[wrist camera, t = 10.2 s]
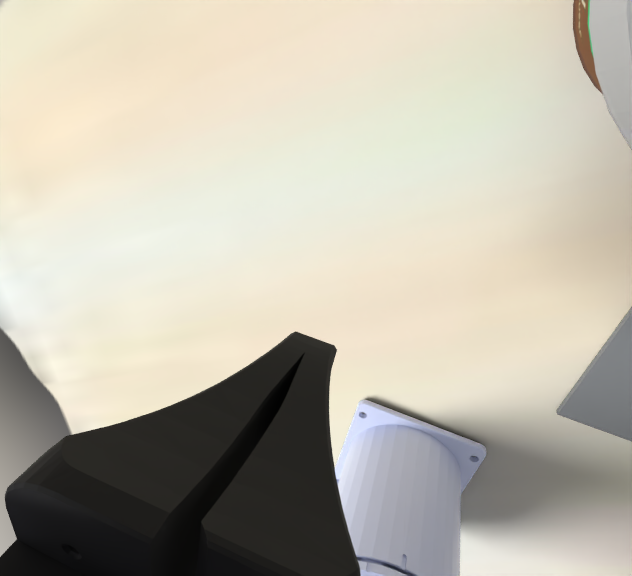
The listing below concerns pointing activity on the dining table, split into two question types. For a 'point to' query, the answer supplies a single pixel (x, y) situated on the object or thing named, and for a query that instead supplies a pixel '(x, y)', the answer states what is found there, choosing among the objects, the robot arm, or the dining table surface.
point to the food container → (607, 54)
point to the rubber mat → (606, 387)
